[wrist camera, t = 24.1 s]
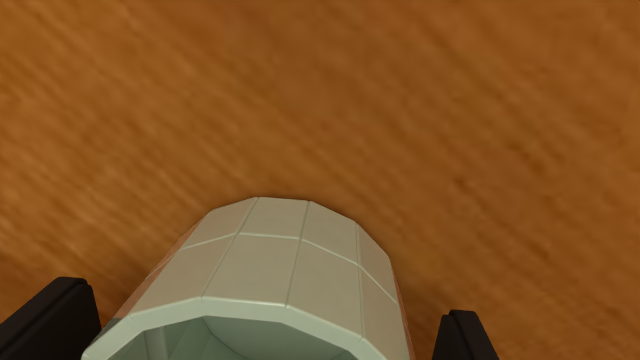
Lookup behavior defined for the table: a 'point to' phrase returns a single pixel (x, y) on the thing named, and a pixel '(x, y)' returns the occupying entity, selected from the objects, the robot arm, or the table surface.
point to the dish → (264, 292)
